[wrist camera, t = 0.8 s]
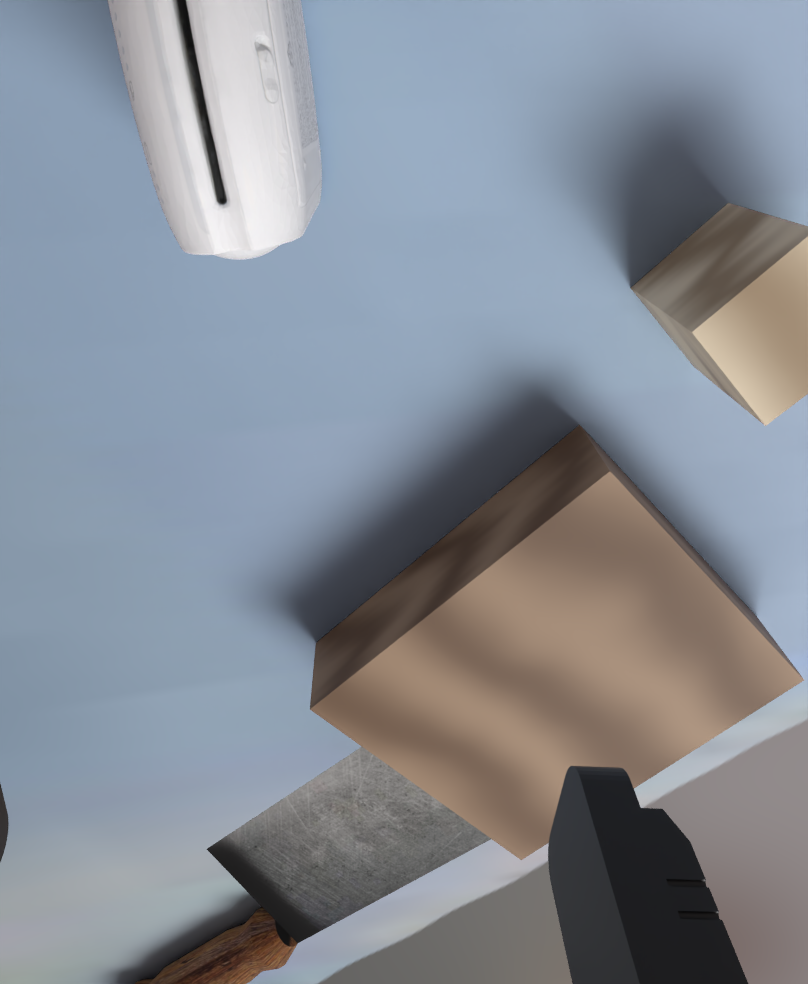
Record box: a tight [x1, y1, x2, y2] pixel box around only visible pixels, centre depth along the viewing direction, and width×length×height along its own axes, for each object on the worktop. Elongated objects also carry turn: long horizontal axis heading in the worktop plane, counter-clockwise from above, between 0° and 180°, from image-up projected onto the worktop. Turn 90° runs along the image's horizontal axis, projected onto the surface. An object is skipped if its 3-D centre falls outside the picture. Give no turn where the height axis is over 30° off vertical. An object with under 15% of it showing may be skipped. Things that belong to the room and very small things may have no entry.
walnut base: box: [310, 425, 804, 860], centre depth 39 cm, size 18×16×5 cm
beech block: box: [631, 203, 808, 426], centre depth 30 cm, size 5×5×7 cm
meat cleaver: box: [135, 747, 491, 984], centre depth 48 cm, size 34×11×4 cm, turn 130°
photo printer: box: [108, 0, 322, 260], centre depth 23 cm, size 10×4×12 cm, turn 6°
